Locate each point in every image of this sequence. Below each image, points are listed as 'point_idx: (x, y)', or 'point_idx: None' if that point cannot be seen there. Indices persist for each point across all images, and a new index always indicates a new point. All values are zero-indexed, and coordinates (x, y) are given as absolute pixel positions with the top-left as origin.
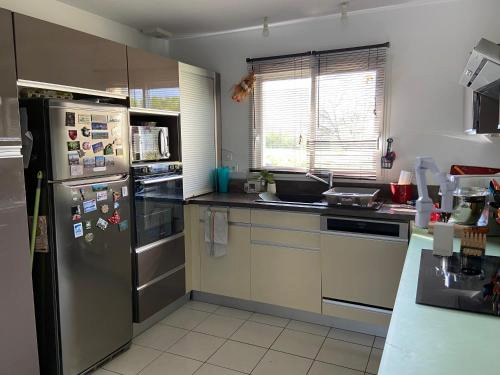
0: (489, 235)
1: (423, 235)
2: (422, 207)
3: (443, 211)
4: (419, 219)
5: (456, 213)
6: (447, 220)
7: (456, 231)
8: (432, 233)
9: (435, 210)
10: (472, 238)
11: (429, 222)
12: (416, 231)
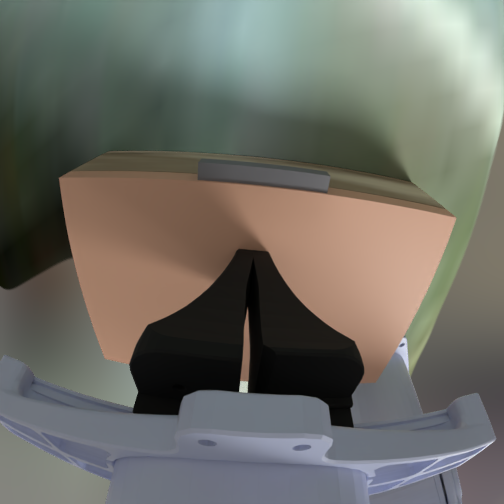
0: (5, 277)
1: (456, 89)
2: (448, 473)
3: (341, 428)
4: (416, 395)
5: (56, 392)
6: (226, 282)
7: (137, 163)
8: (376, 175)
9: (463, 428)
10: None
11: (399, 331)
12: (470, 224)
